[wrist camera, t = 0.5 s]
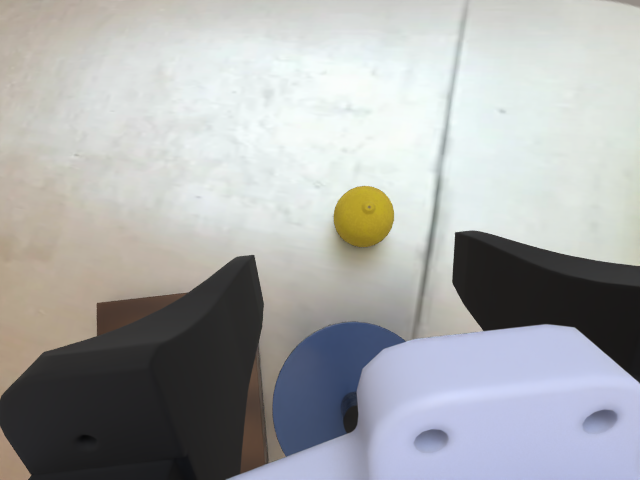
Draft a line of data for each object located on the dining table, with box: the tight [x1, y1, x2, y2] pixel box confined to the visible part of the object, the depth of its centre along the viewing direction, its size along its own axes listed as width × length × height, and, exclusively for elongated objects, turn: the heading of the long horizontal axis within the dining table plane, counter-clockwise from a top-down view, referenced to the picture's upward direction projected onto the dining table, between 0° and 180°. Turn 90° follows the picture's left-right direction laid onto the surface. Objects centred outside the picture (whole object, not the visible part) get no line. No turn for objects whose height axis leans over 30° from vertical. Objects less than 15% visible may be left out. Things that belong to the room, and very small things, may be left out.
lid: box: [273, 322, 406, 457], centre depth 27 cm, size 14×14×4 cm
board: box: [97, 293, 268, 474], centre depth 33 cm, size 20×15×2 cm
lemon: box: [334, 186, 394, 247], centre depth 32 cm, size 6×6×8 cm
